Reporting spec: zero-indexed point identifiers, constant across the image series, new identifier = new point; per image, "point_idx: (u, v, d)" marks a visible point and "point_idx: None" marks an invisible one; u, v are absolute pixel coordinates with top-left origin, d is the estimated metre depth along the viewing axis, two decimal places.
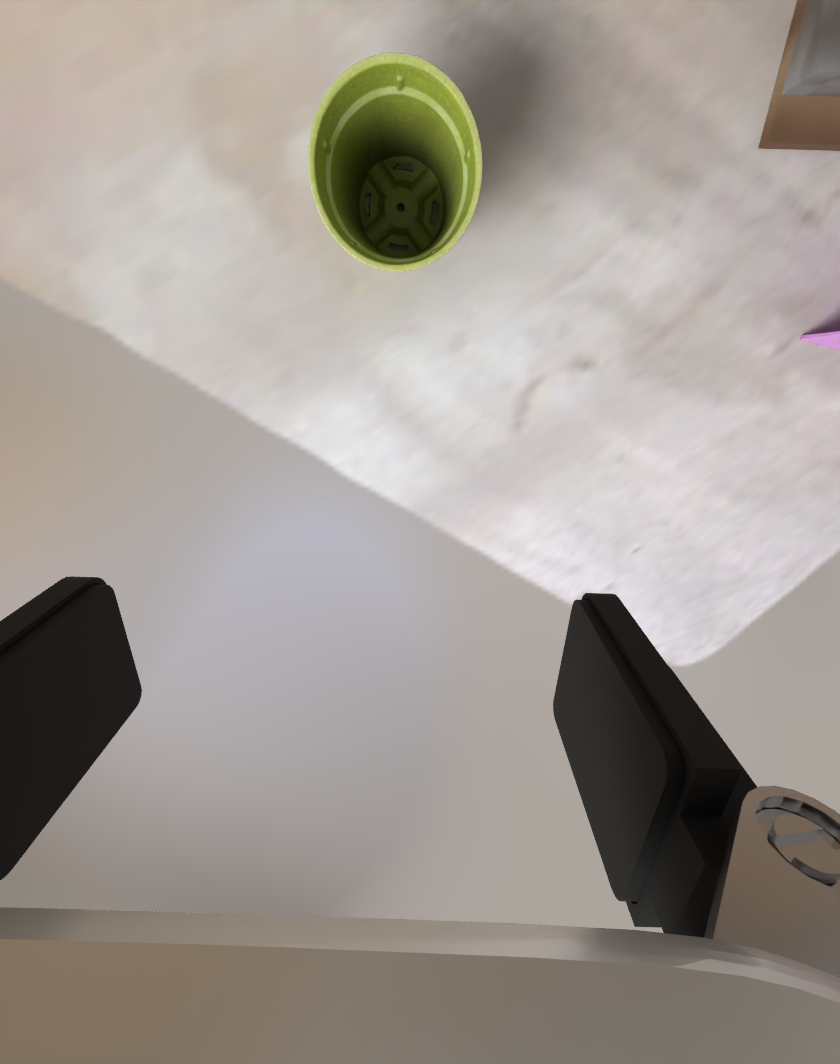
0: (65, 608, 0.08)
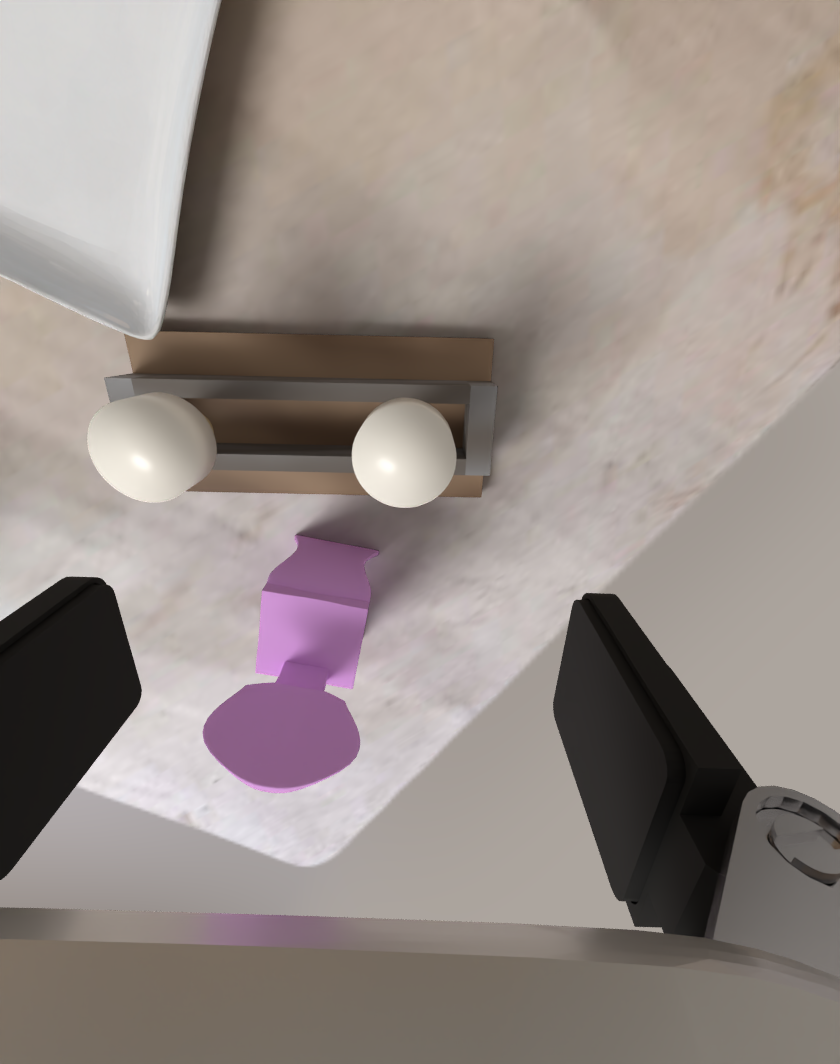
0: (65, 608, 0.08)
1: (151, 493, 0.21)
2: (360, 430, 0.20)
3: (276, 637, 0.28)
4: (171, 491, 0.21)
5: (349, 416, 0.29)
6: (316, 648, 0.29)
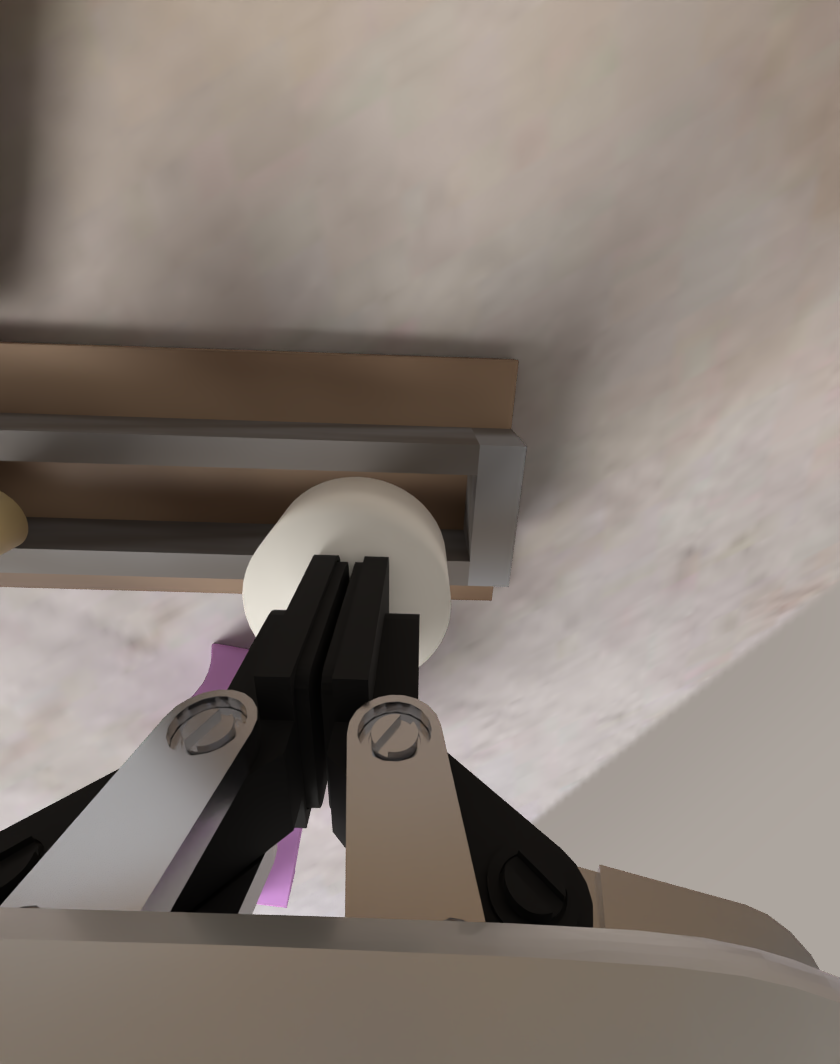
0: (334, 579, 0.09)
1: None
2: (255, 556, 0.10)
3: None
4: None
5: (282, 480, 0.18)
6: None
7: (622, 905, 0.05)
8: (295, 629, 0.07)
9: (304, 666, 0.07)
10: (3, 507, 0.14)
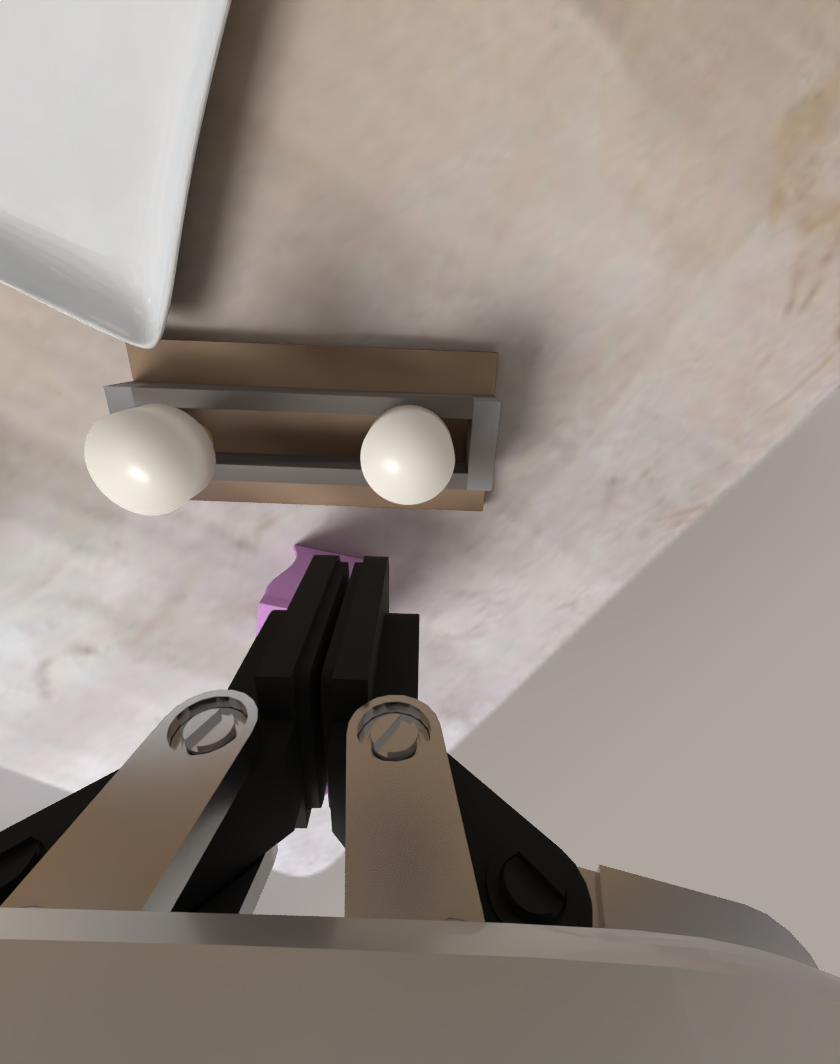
0: (335, 579, 0.09)
1: (148, 506, 0.21)
2: (368, 434, 0.22)
3: None
4: (168, 504, 0.21)
5: (351, 427, 0.29)
6: None
7: (621, 904, 0.05)
8: (295, 629, 0.07)
9: (304, 666, 0.07)
10: None
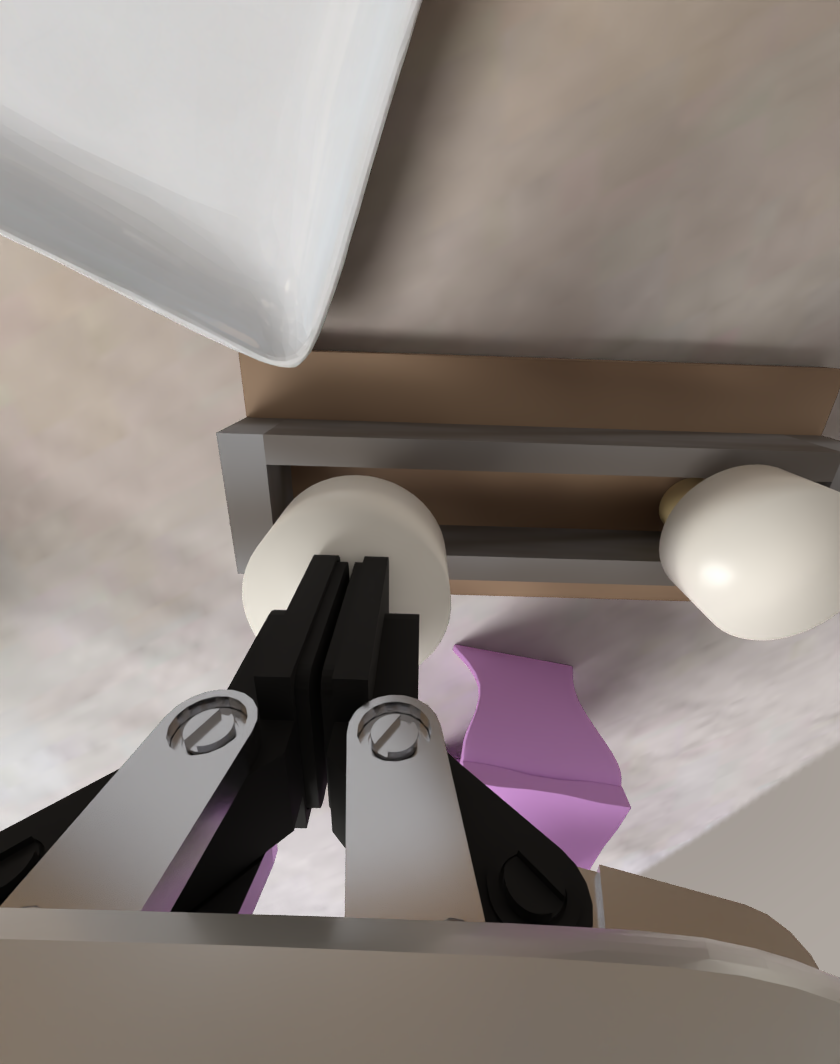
0: (334, 579, 0.09)
1: None
2: (733, 528, 0.12)
3: None
4: None
5: (582, 486, 0.18)
6: None
7: (622, 905, 0.05)
8: (295, 629, 0.07)
9: (304, 666, 0.07)
10: None
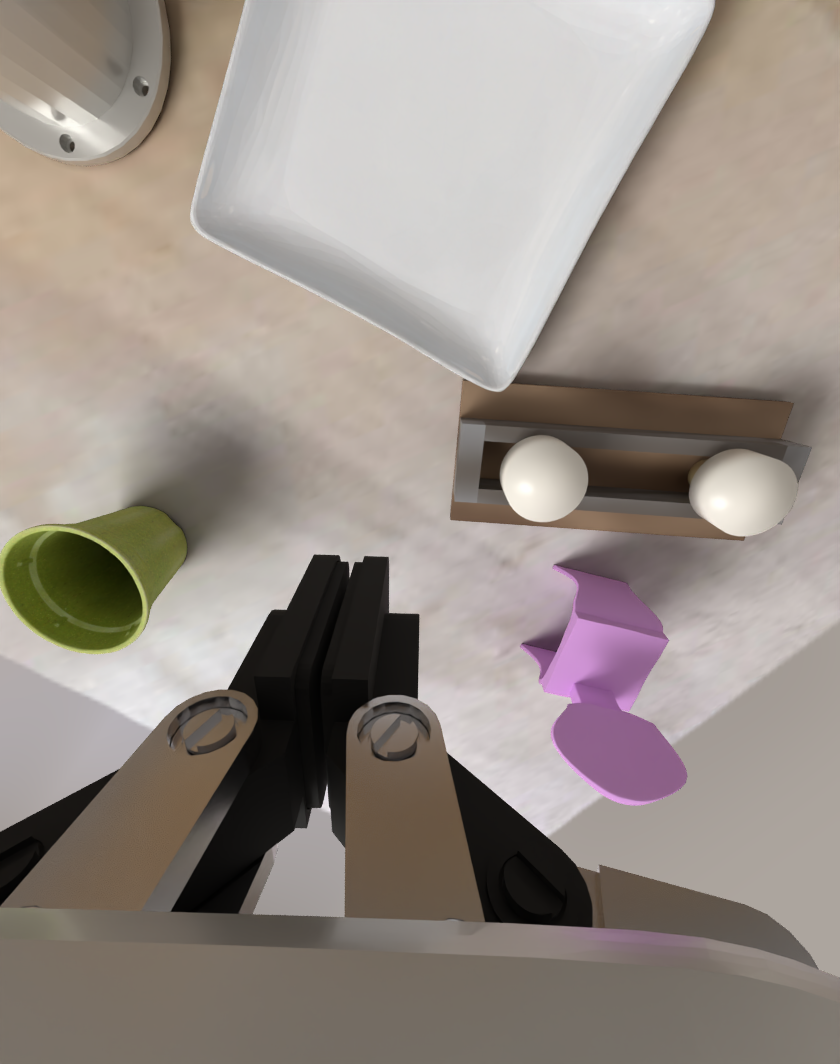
0: (335, 580, 0.09)
1: (540, 515, 0.27)
2: (726, 474, 0.26)
3: (574, 661, 0.31)
4: (557, 514, 0.27)
5: (643, 463, 0.32)
6: (607, 672, 0.31)
7: (621, 905, 0.05)
8: (295, 630, 0.07)
9: (305, 666, 0.07)
10: None
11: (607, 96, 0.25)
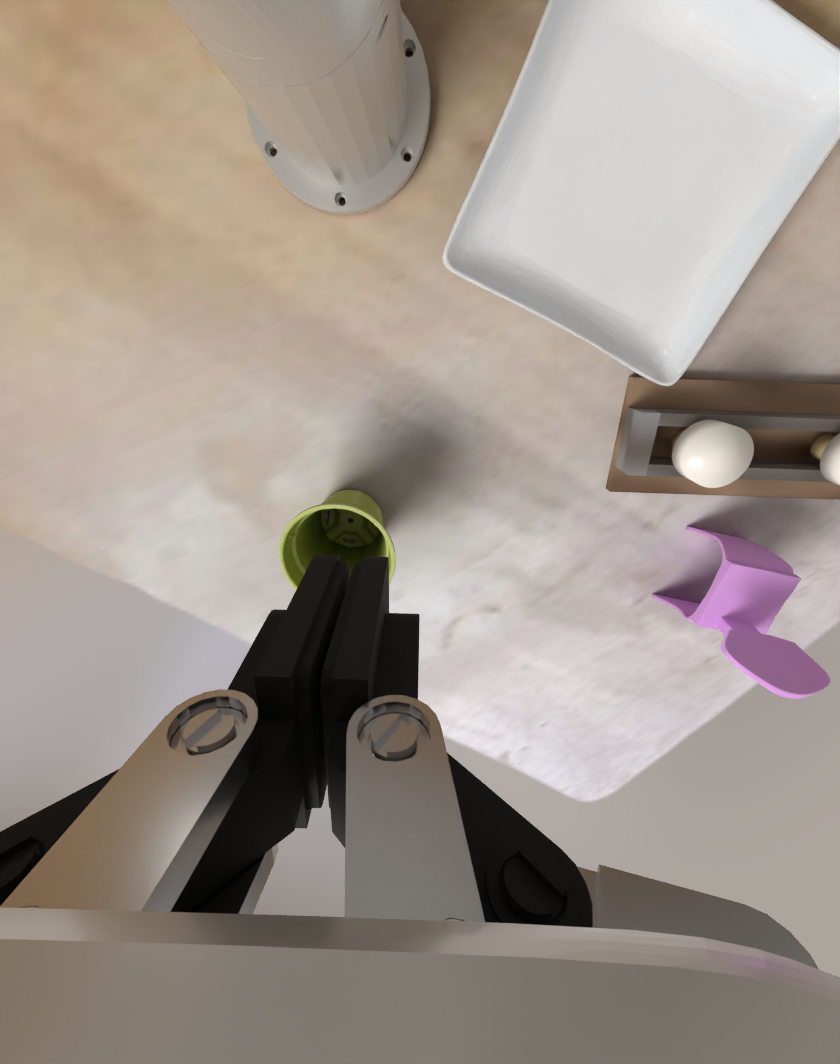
0: (335, 579, 0.09)
1: (712, 482, 0.35)
2: None
3: (723, 599, 0.39)
4: (726, 481, 0.35)
5: (772, 439, 0.40)
6: (748, 607, 0.39)
7: (622, 905, 0.05)
8: (295, 629, 0.07)
9: (304, 666, 0.07)
10: None
11: (772, 153, 0.32)
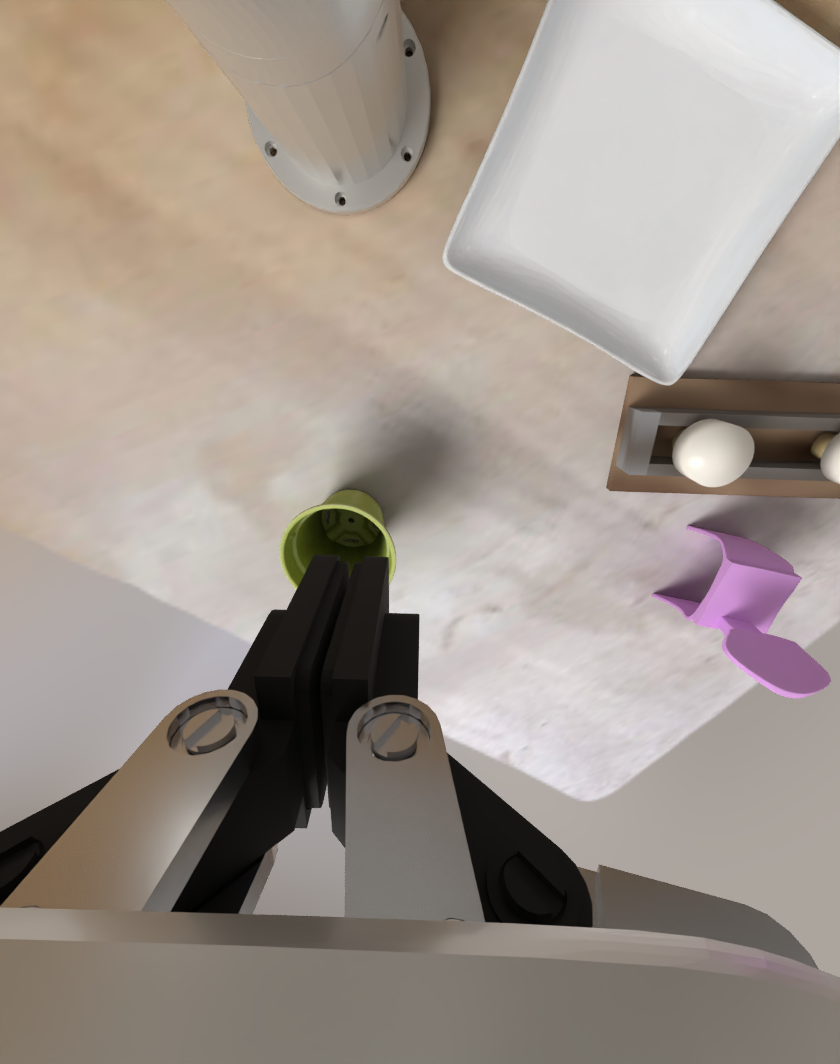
0: (335, 580, 0.09)
1: (713, 481, 0.35)
2: None
3: (724, 598, 0.39)
4: (726, 480, 0.35)
5: (772, 438, 0.40)
6: (749, 606, 0.39)
7: (621, 905, 0.05)
8: (295, 630, 0.07)
9: (304, 666, 0.07)
10: None
11: (772, 152, 0.32)
